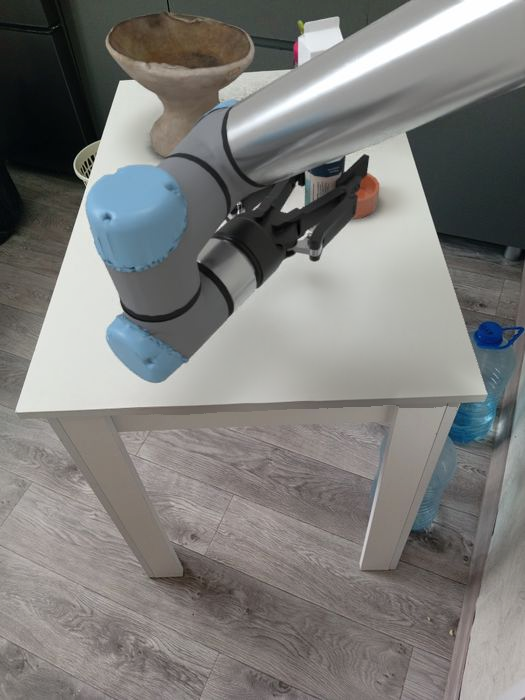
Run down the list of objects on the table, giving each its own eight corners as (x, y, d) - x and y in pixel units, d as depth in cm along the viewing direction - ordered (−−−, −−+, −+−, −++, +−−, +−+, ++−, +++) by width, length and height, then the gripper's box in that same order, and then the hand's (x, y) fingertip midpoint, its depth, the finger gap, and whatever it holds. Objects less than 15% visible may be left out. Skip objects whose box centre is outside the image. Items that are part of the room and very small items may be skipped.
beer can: (347, 226, 68) (355, 143, 59) (320, 242, 67) (324, 160, 57) (323, 209, 71) (327, 127, 61) (296, 224, 69) (296, 142, 59)
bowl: (258, 174, 94) (249, 61, 78) (124, 179, 95) (88, 69, 79) (261, 102, 109) (255, -6, 93) (145, 107, 110) (120, 2, 94)
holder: (383, 213, 86) (386, 195, 83) (336, 222, 85) (337, 204, 82) (367, 184, 90) (369, 166, 87) (322, 193, 90) (323, 175, 87)
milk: (297, 142, 99) (296, 15, 82) (327, 135, 100) (332, 8, 83) (308, 159, 96) (309, 30, 78) (338, 152, 97) (346, 23, 79)
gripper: (178, 258, 61) (290, 161, 72) (300, 323, 54) (405, 205, 65) (165, 207, 55) (289, 110, 66) (300, 273, 48) (416, 152, 59)
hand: (346, 157), depth 65 cm, fingers closed on beer can, 5 cm apart
